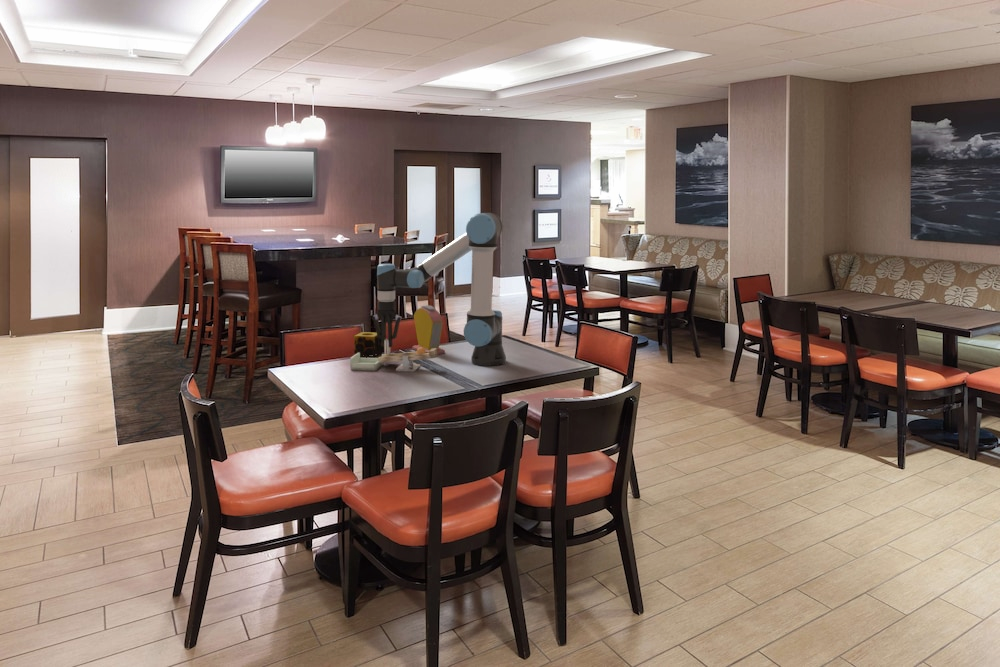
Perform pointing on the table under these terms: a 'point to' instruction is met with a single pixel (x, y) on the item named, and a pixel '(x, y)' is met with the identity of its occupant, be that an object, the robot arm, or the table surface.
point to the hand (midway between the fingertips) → (387, 354)
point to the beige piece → (412, 355)
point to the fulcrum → (407, 365)
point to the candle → (368, 344)
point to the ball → (420, 350)
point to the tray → (364, 363)
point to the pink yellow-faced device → (428, 328)
